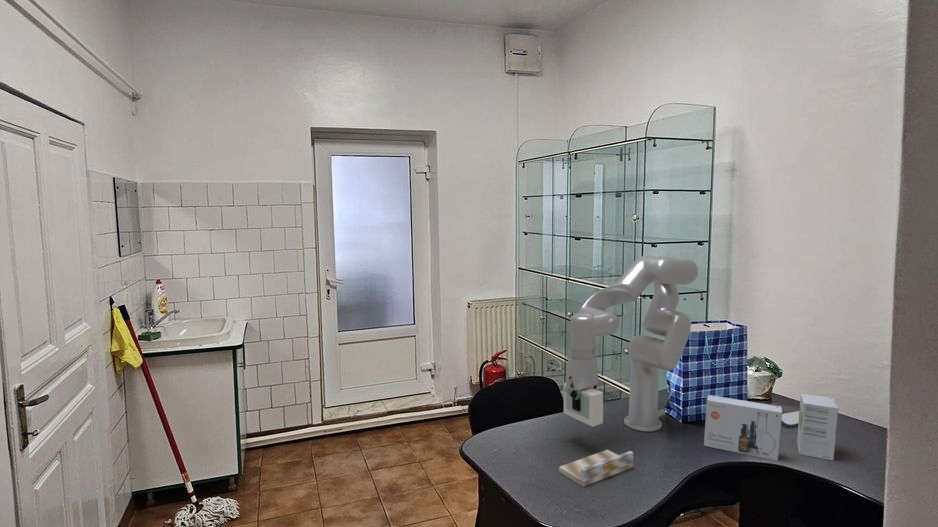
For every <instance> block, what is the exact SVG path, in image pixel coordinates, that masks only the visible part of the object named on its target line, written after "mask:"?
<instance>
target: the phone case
mask: <svg viewBox="0 0 938 527" xmlns="http://www.w3.org/2000/svg"><path fill="white" fill-rule="evenodd" d="M799 412H800V410H797V411H790V412H783V413H782V421H781V427H783V428H784V427H785V428H786V429H795V428H798V424H799Z"/></svg>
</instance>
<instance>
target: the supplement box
mask: <svg viewBox="0 0 938 527" xmlns="http://www.w3.org/2000/svg"><path fill="white" fill-rule="evenodd" d="M799 401H800V402H799V411H800V412H799V424H798V427H797V438H796V444H797V449H798V454H799V455H801V456H807V457H813V458H818V459H822V460H823V459H824V460H828V461H834V460H835V458H834V457H835V448H836V447H835V446H836V434H837V432H836V431H837V426H838V418H839V417H838V415H839V407H838V405H837V403H836V400H835V398H834V397H829V396H822V395H815V394H807V393H801V394H800V400H799Z"/></svg>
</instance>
